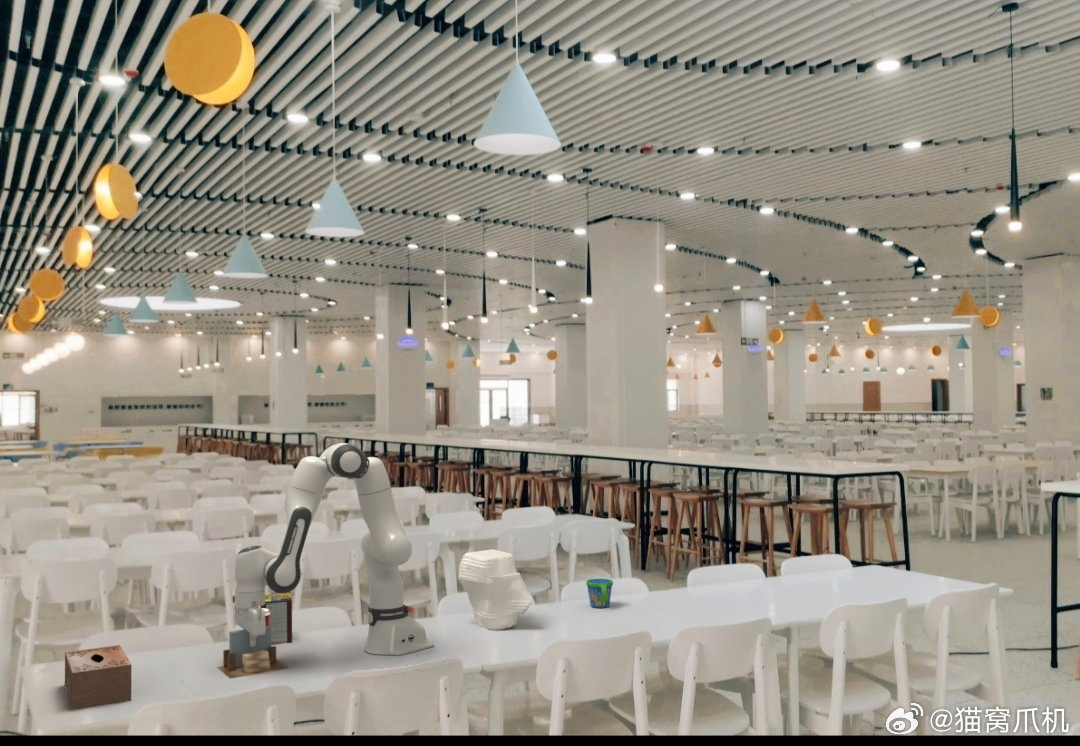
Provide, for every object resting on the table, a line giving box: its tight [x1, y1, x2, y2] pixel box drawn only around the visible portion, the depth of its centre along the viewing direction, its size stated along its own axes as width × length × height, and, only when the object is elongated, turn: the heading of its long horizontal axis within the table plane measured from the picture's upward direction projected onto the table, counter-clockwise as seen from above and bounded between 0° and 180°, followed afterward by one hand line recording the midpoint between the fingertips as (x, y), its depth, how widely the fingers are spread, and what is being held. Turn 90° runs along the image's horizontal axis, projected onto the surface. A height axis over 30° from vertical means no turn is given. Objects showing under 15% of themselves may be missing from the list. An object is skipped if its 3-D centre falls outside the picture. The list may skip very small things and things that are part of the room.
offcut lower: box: [244, 661, 270, 673], centre depth 272 cm, size 7×3×2 cm, turn 124°
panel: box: [228, 626, 272, 666], centre depth 278 cm, size 12×2×10 cm, turn 124°
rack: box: [216, 645, 291, 679], centre depth 275 cm, size 18×15×6 cm
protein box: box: [261, 591, 293, 646], centre depth 311 cm, size 10×15×16 cm
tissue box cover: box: [64, 644, 132, 711], centre depth 254 cm, size 26×14×10 cm, turn 32°
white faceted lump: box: [457, 548, 533, 631], centre depth 328 cm, size 21×27×26 cm
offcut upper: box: [242, 651, 269, 665], centre depth 272 cm, size 7×3×2 cm, turn 129°
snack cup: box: [585, 578, 614, 609], centre depth 358 cm, size 16×10×10 cm
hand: (250, 644), depth 278 cm, fingers closed on panel, 2 cm apart
